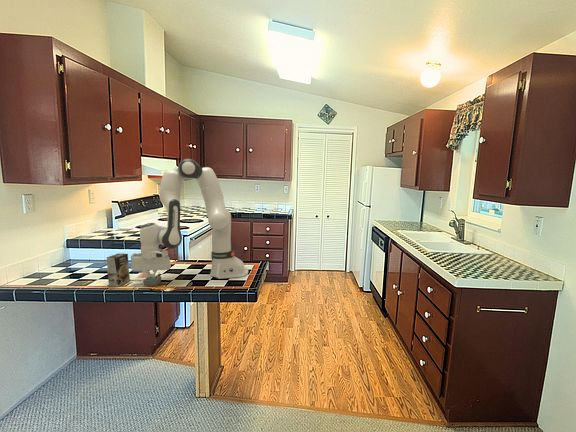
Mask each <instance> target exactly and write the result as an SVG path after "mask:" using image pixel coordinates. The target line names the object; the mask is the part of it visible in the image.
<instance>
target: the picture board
mask: <svg viewBox="0 0 576 432" xmlns="http://www.w3.org/2000/svg"><path fill="white" fill-rule="evenodd" d="M150 273H151V274H153V273H154V272H150ZM160 274H161V272H156V273H155V276H160ZM147 277H148V276H147ZM147 277H143V276H142V272H138V273H137V274H136V275H134V276H133V277H132V278H131V279H130V282H143V280H144V279H146V278H147Z"/></svg>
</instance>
